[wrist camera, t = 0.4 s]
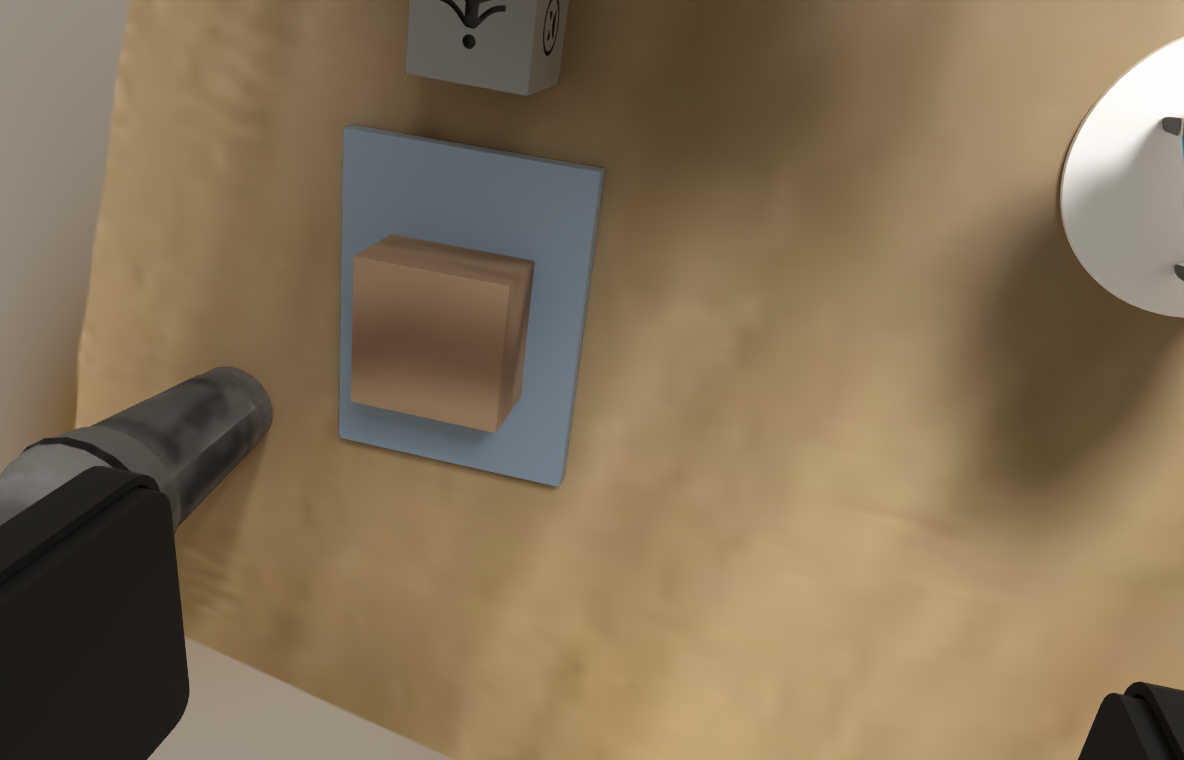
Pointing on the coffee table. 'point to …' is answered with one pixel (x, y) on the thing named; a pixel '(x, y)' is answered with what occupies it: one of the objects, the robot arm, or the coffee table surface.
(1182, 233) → the panda figurine
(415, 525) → the coffee table surface
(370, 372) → the light brown plinth
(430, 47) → the grey symbol cube
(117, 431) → the beverage cup
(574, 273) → the blue board
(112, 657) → the robot arm
